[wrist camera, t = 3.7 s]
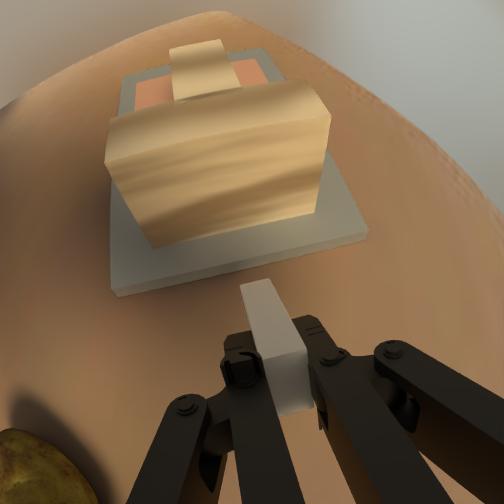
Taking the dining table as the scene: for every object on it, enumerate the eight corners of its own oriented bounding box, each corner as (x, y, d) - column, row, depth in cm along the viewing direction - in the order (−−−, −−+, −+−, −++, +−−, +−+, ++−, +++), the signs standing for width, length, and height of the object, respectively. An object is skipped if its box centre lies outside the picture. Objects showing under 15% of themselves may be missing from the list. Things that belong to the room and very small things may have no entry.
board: (364, 240, 24) (369, 230, 23) (119, 297, 23) (110, 289, 21) (264, 56, 38) (264, 47, 37) (126, 85, 37) (123, 77, 36)
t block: (314, 212, 24) (331, 115, 16) (153, 249, 23) (104, 163, 15) (270, 115, 29) (269, 32, 21) (147, 141, 28) (120, 62, 21)
